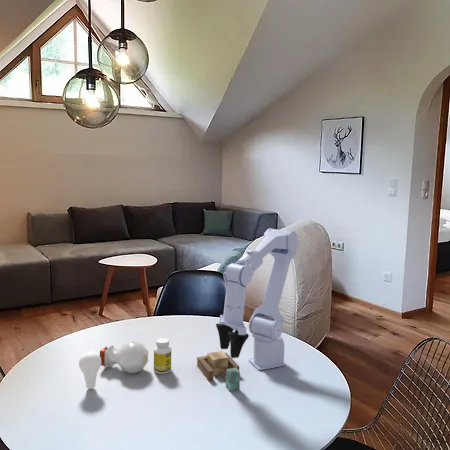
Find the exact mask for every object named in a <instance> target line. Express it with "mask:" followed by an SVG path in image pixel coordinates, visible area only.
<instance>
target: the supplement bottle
mask: <svg viewBox="0 0 450 450" xmlns="http://www.w3.org/2000/svg"><path fill="white" fill-rule="evenodd" d="M155 345H156V346H154V348H153V372H155V373H156V374H160V375H164V374H165V375H166V374H169V373H170V372H171V371H172V347H171V346H170V339H168V338H166V337H161V338H157V339H156V341H155Z"/></svg>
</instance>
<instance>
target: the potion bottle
mask: <svg viewBox="0 0 450 450" xmlns="http://www.w3.org/2000/svg"><path fill="white" fill-rule="evenodd" d="M99 356H100V358H101V367H102V366H103V367H105V368H106V367H108V368H110V369H112V368H113V367H114V366H115V365H119V367H120V369H121V371H123V372H125V373H128V374H132V375H133V374H136V373H140V372H142V371H143V370H144V369H145V367H146V366H147V364H148V363H149V351H148V350H147V348H146V347H145V345H144V344H143V343H140V342H137V341H134V340H133V341H130V342H127V343H125V344H123V345H122V346H121V348H120V349H116V348H115V346H114V345H111V346H109V347H108V346H105V347H104V348H101V350H100V351H99Z"/></svg>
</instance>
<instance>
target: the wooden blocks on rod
mask: <svg viewBox="0 0 450 450" xmlns="http://www.w3.org/2000/svg"><path fill="white" fill-rule="evenodd" d="M224 353H225V352H224V351H223V350H220V351H219V350H218V351H213V352H209V353H207V355H206V356H207V364H208V365H209V366H210V367H211V368H212V370H213V376H216V375H220V377H222V378H223V380H224V381H225V388H226V389H227V390H228V392H231V393H232V392H236V391H240V386H241V385H240V383H241V382H240V381H241V380H240V379H241V377H240V376H241V372H240V370H239V371H238V369H237V368H230V369H228V357H227V356H226V355H225V354H224Z"/></svg>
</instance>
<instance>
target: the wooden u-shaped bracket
mask: <svg viewBox="0 0 450 450" xmlns="http://www.w3.org/2000/svg"><path fill="white" fill-rule="evenodd" d="M224 354H225V355H226V356H227V357H228V369H230V368H237V369H238V371H239V372H240V365H239V364H238V363H237V362H236V361H235V360H234V358H232V357H231V355H230V354H228V353H227V352H224ZM196 362H197V363H196V367H197V368H198V369H199V370H200V372H201V373H202V375H203V376H204V377H205V379H206V380H207V381H208V382H211V381H214V375H213V370H212V368H211V367H210V366H209V365H208V364H207V355H202V356H197V357H196Z"/></svg>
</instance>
